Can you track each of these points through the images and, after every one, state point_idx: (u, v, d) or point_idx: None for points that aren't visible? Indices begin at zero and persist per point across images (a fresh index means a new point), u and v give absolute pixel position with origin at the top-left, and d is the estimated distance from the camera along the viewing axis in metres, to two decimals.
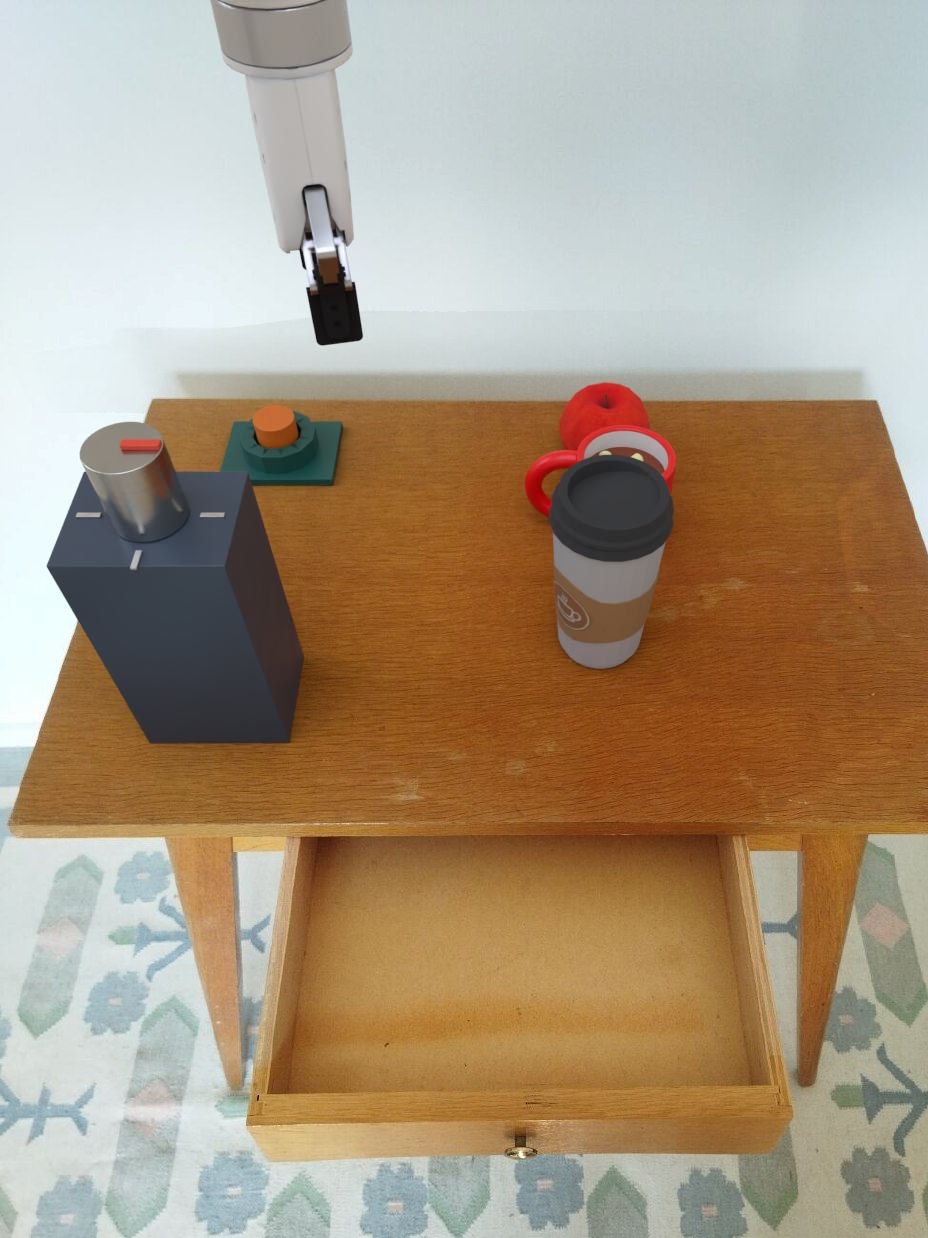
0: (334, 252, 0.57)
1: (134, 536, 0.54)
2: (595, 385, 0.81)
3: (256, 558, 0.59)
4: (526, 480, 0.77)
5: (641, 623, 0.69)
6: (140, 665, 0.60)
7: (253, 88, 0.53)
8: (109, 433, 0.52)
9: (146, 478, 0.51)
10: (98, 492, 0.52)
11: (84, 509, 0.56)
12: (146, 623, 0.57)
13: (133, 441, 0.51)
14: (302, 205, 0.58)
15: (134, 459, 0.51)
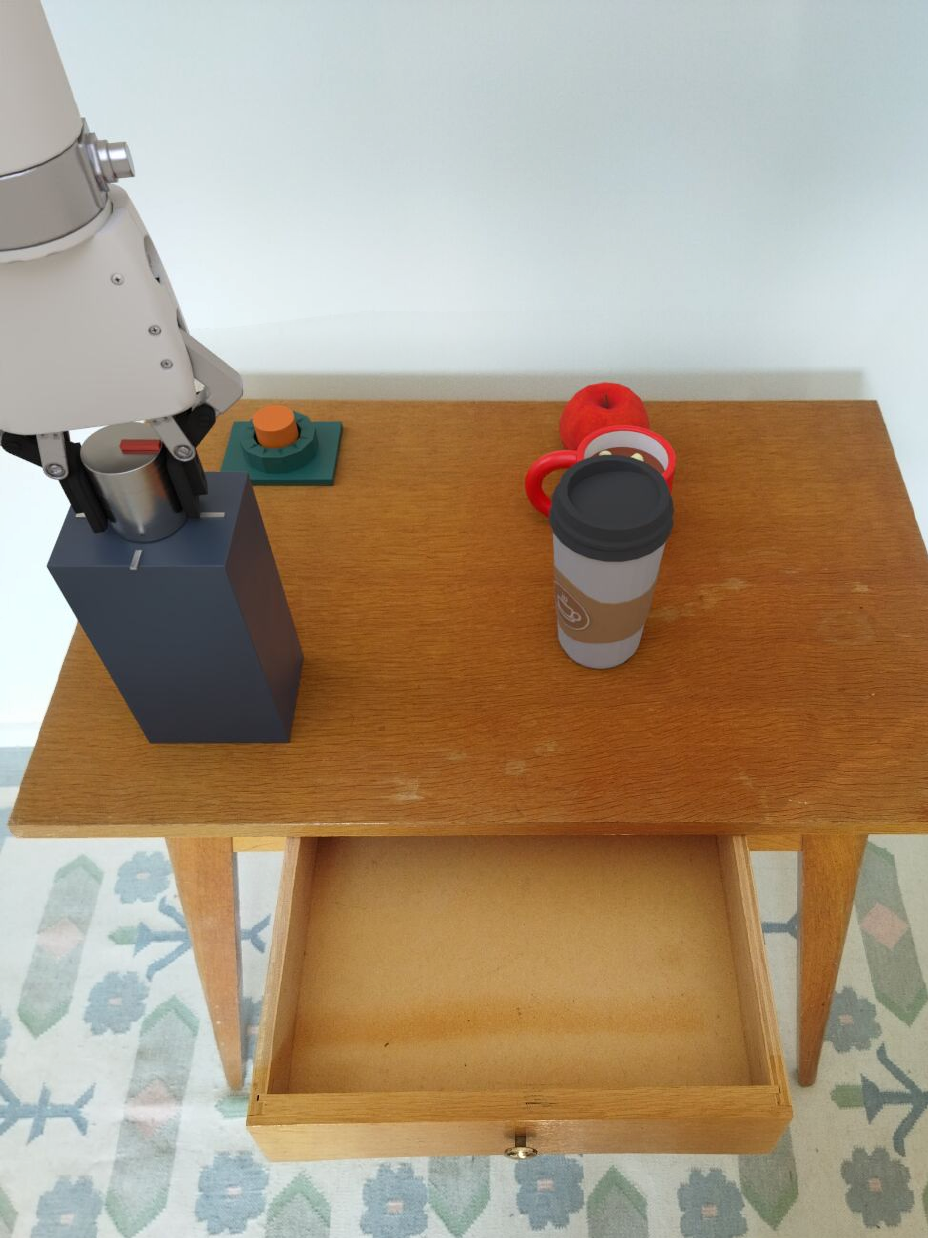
0: None
1: (134, 536, 0.54)
2: (595, 385, 0.81)
3: (256, 558, 0.59)
4: (526, 480, 0.77)
5: (641, 623, 0.69)
6: (140, 665, 0.60)
7: None
8: (109, 433, 0.52)
9: (146, 478, 0.51)
10: (98, 492, 0.52)
11: None
12: (146, 623, 0.57)
13: (133, 441, 0.51)
14: None
15: (134, 459, 0.51)
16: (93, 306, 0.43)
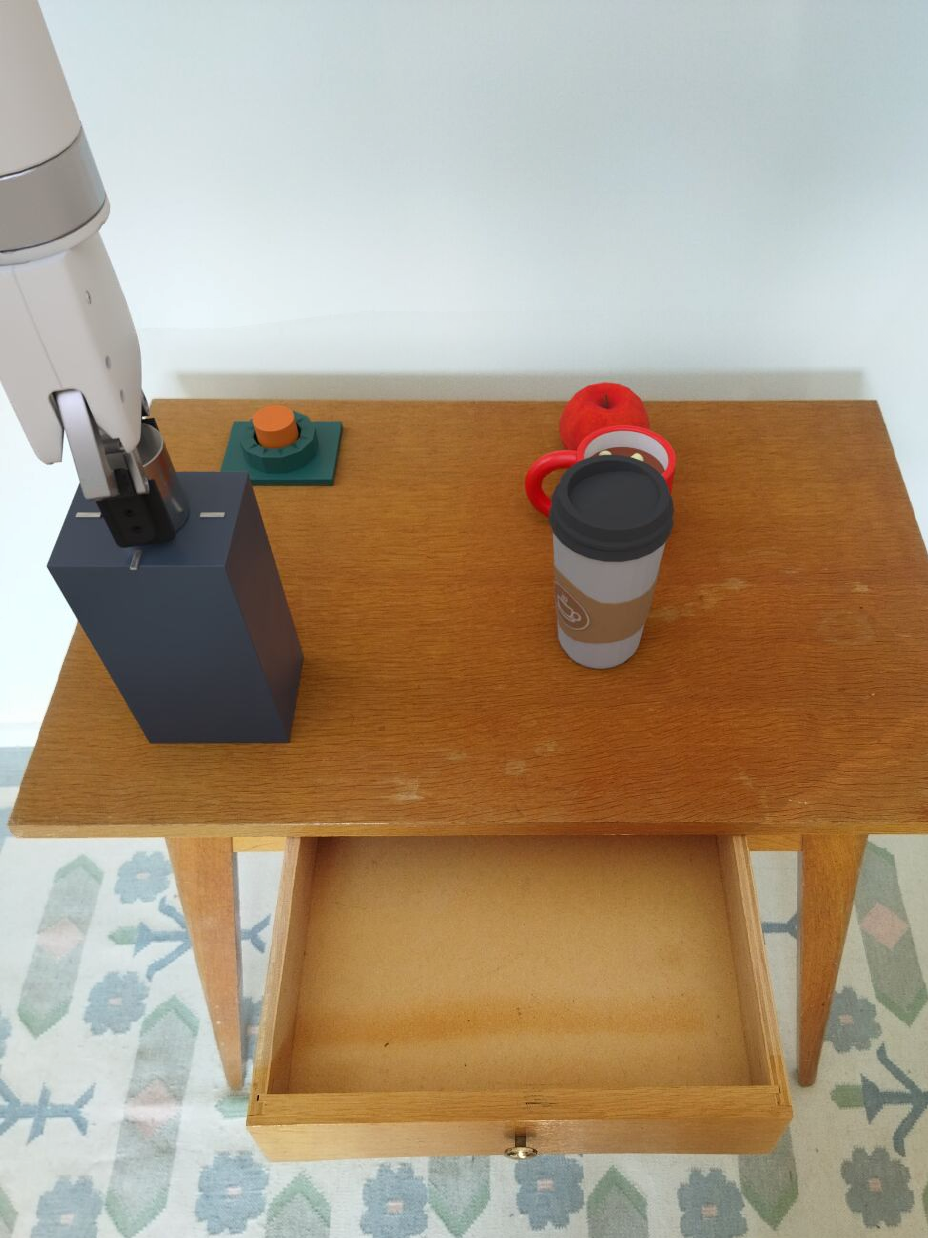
0: (108, 493, 0.45)
1: (185, 513, 0.55)
2: (595, 385, 0.81)
3: (256, 558, 0.59)
4: (526, 480, 0.77)
5: (641, 623, 0.69)
6: (140, 665, 0.60)
7: None
8: None
9: None
10: None
11: (84, 509, 0.56)
12: (146, 623, 0.57)
13: None
14: (53, 413, 0.43)
15: (144, 435, 0.52)
16: (104, 254, 0.45)
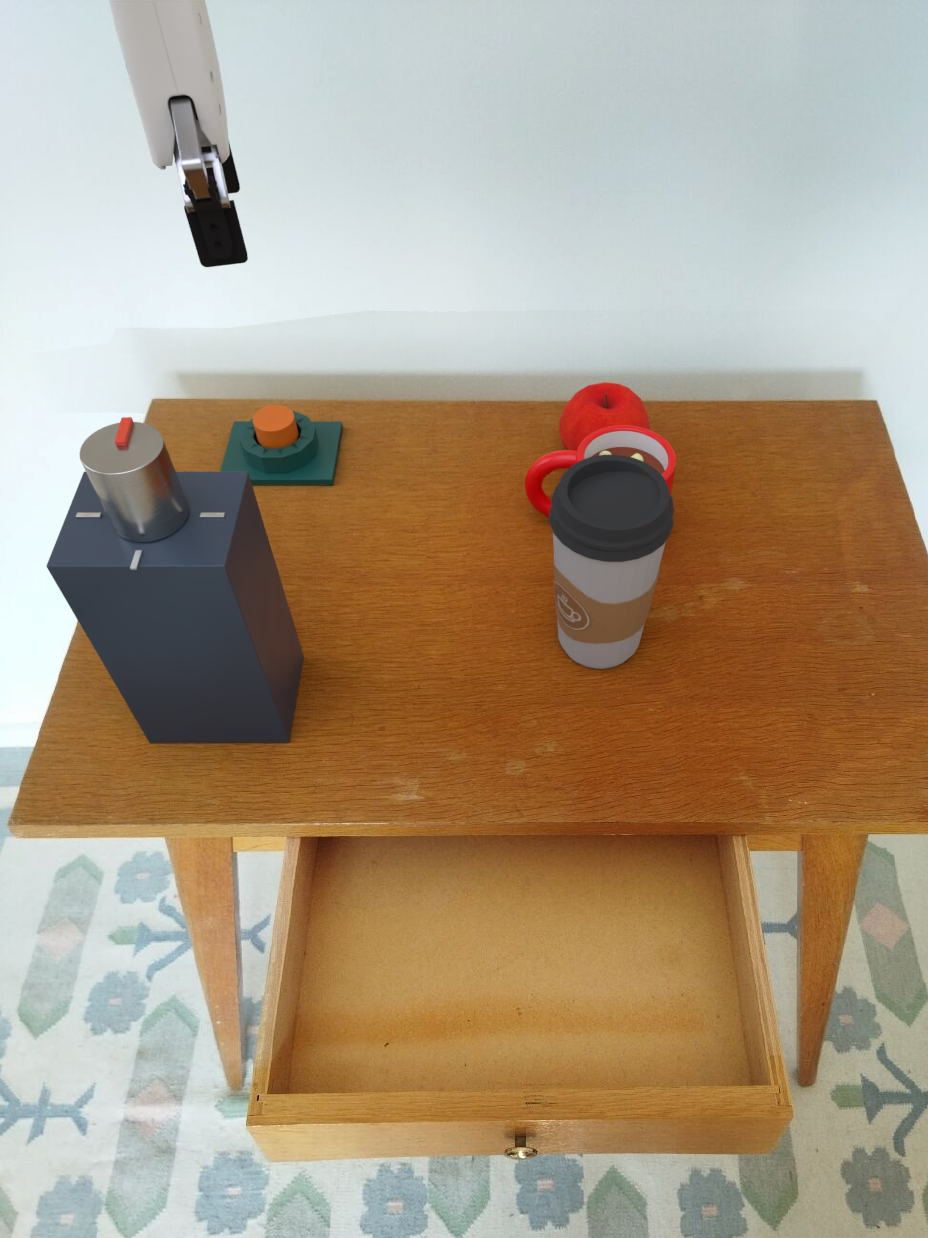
0: (200, 163, 0.57)
1: (185, 512, 0.55)
2: (595, 385, 0.81)
3: (256, 558, 0.59)
4: (526, 480, 0.77)
5: (641, 623, 0.69)
6: (140, 665, 0.60)
7: None
8: (97, 458, 0.51)
9: None
10: (158, 488, 0.52)
11: (84, 509, 0.56)
12: (146, 623, 0.57)
13: (120, 433, 0.51)
14: (169, 117, 0.57)
15: (143, 434, 0.52)
16: None
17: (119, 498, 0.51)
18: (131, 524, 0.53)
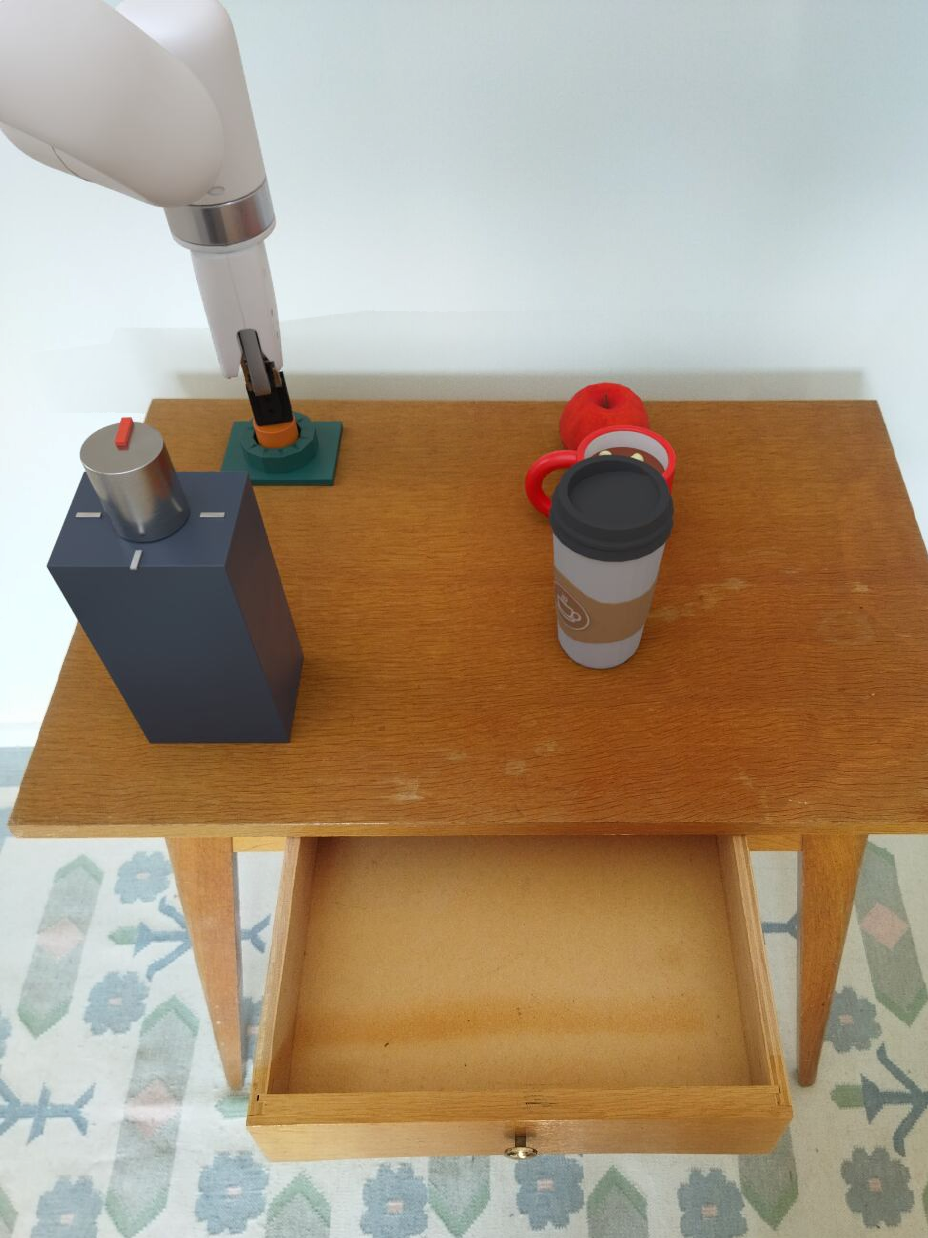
0: (269, 393, 0.75)
1: (185, 512, 0.55)
2: (595, 385, 0.81)
3: (256, 558, 0.59)
4: (526, 480, 0.77)
5: (641, 623, 0.69)
6: (140, 665, 0.60)
7: (194, 260, 0.67)
8: (97, 458, 0.51)
9: None
10: (158, 488, 0.52)
11: (84, 509, 0.56)
12: (146, 623, 0.57)
13: (120, 433, 0.51)
14: (238, 344, 0.71)
15: (143, 434, 0.52)
16: None
17: (119, 498, 0.51)
18: (131, 524, 0.53)
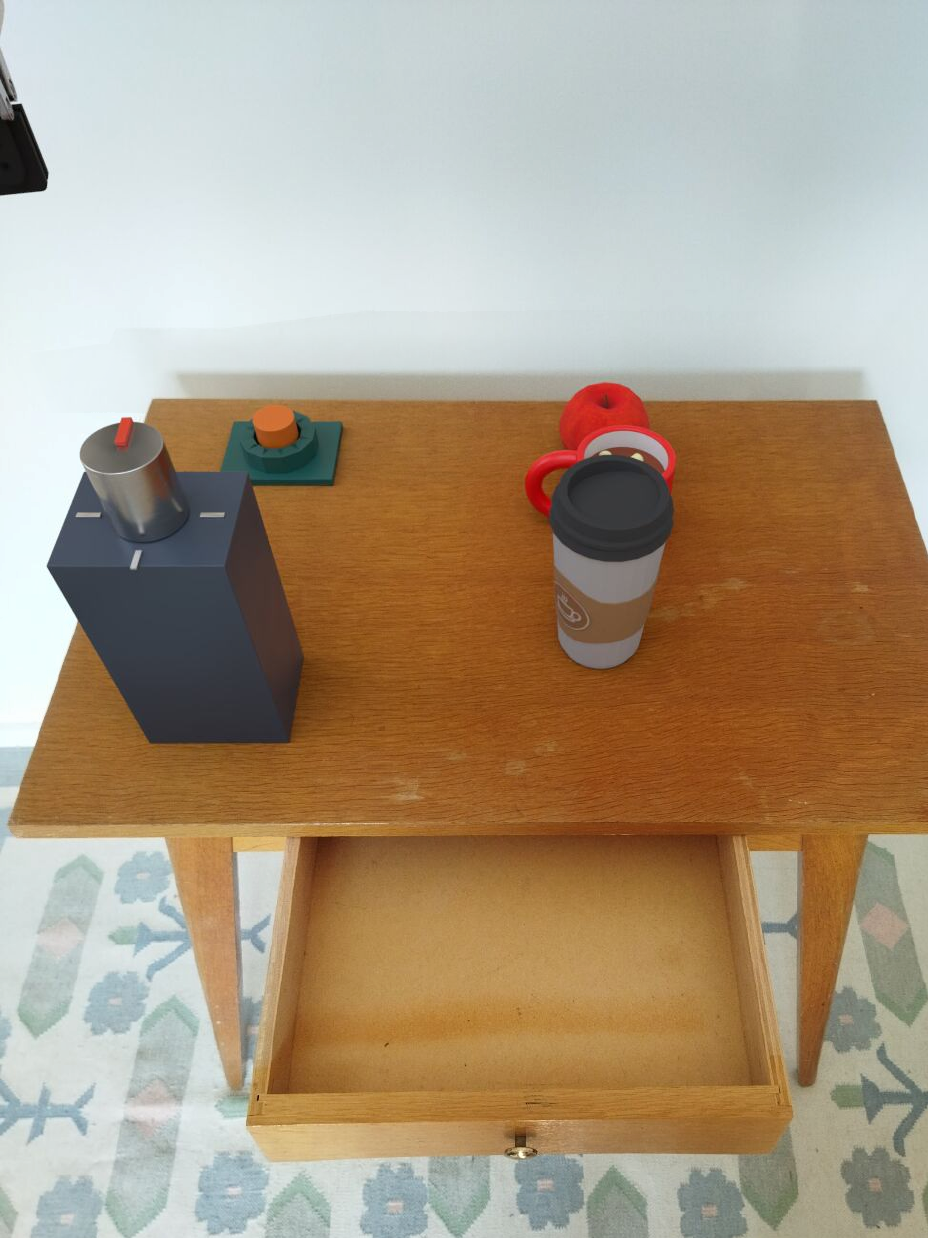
0: None
1: (185, 512, 0.55)
2: (595, 385, 0.81)
3: (256, 558, 0.59)
4: (526, 480, 0.77)
5: (641, 623, 0.69)
6: (140, 665, 0.60)
7: None
8: (97, 458, 0.51)
9: None
10: (158, 488, 0.52)
11: (84, 509, 0.56)
12: (146, 623, 0.57)
13: (120, 433, 0.51)
14: None
15: (143, 434, 0.52)
16: None
17: (119, 498, 0.51)
18: (131, 524, 0.53)
